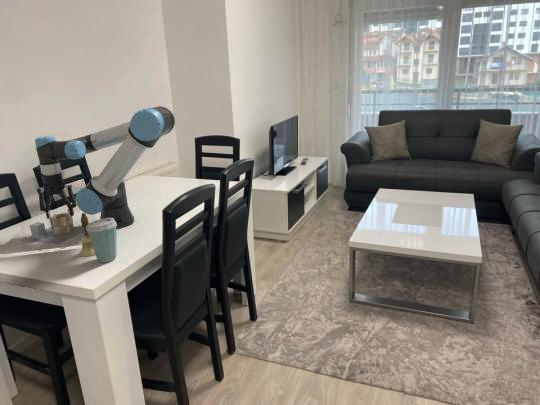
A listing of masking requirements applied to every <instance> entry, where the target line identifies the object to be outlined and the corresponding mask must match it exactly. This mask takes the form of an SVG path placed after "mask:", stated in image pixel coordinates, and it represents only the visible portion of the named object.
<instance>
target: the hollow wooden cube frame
mask: <svg viewBox="0 0 540 405" xmlns="http://www.w3.org/2000/svg"><path fill="white" fill-rule="evenodd" d="M49 223H51V224H50V227H51V228H52V232H53V234H61V233H69V232H71V230H72V229H73V228H74V227H75V226H74V222H73V223H72V224H70V222H69V217H68V212H61V213H53V216H52V217H51V218H50V219H49Z"/></svg>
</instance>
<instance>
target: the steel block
mask: <svg viewBox="0 0 540 405" xmlns="http://www.w3.org/2000/svg"><path fill="white" fill-rule="evenodd" d="M29 228H30V232H31V236H32V238H33V240H39V241H40V240H42V239H44V238H47V234H46V229H47V228H46V225H45V222H34V223H32V224H30V225H29Z"/></svg>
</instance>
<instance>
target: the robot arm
mask: <svg viewBox="0 0 540 405" xmlns="http://www.w3.org/2000/svg"><path fill="white" fill-rule="evenodd" d="M175 125H176V118H175V115H174V113H173V112H172V111H171V110H170V109H169V108H167V107H165V106H161V105H160V106H159V105H158V106H155V107H147V108H142V109H140V110H138V111H137V112H135V113H134V114H133V115H132V117H131V119H130V121H126V122H123V123H121V124H117V125H115V126H112V127H111V126H110V127H109V128H106V129H102V130H99V131H96V132H92V133H90V134H86V135H83V136H79V137H77V138H73V139H69V140H56V139H55V136H52V135H47V136H39V137H36V138H35V139H34V144H35V151H36V153H37V157H38V161H39V168H40V173H41V175H42V181H43V186H42V187H38V188H37V189H36V192H37V194H38V202H39V211H40V212H44V213H45V215H46V216H45V217H46V219H47V220H50V218H51V217H52V216H53V215H54V213H53V210H52V209H50V208H51V204H52V199H53V198H52V197H53V196H57V195H58V196H59V197H61V199H62V200H63V202H64V203H65V205H66V207H67V210H66V211H67V212H66V213H68V217H69V222H70V224H72V223H73V224H74V219H73V217H74V215H75V213H74V211H75V210H74V208H76V207H78V209H79V210H80V211H82V213H85V214H86V215H89V216H90V215H91V216H94V215H97V214H99V213H100V217H99V219H104V218H113V219H114V221H115V222H116V224H117V226H116V230H117V229H122V228H126V227H129V226H131V225H132V223H133V222H134V223H135V216H134V215H133V213H132V211H131V209H130V207H129V204H128V203H129V202H128V197H127V191H126V190H127V189H126V182H125V177H126V176H127V175H128V174H129V172H130V171H131V170H132V169H133V167H134V166H135V164H136V163H137V162H138V161H139V160H140V158H141V156H143V154H144V153H145V151H147V149H151V148H153V147H154V146H155V145H156V144H157V142H158V141H159V140H160V139H161V138H162V137H163V136H165V135H168V134H169V133H171V132H172V131H173V130H174V127H175ZM120 144H121V145H120ZM116 145H120V146H119V147H118V149H117V150H116V151H115V153H114V154H113V155H112V157H111V158H110V159H109V161H108V162H107V163H106V165H105V167H104V168H103V169H102V171H101V172H100V173H99V175H94V176H92V178H91V179H90V180H89V182H88V183H86V185H85V187H83V188H80V189H79V190H78V191H77V192H76V194H74V191H73V185H72V184H65V182H64V179H63V173H62V172H61V171H62V169H61V163H60V160H78V159H82V158H84V156H85V155H87V154H90V153H91V154H92V153H94V152H97V151H99V150H104V149H106V148H110V147H113V146H116ZM64 190H66V191H67V194H68V196H69V198H68V197H67V195H66V193H65V191H64ZM44 192H46V193H47V198H46V203H45V196H44ZM69 199H70V200H69ZM49 223H50V222H49ZM134 223H133V224H134ZM50 225H51V223H50Z"/></svg>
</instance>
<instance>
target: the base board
mask: <svg viewBox="0 0 540 405" xmlns="http://www.w3.org/2000/svg"><path fill="white" fill-rule="evenodd" d="M45 229H46V234H47V238H44V239H42V240H40V241H39V240H33V238H32V235H30V236H27V237H26V238H23V239H21V240H20V242H22V241H23V242H31V243H43V244H44V243H45V244H55V245H59V244H61V243H64V242H66V241H68V240H70V239H71V238H74V237H75V236H77V235H79V234H81V233H83V232H84V228H83V226H74V228H73V229H72V230H71V232H69V233H61V234H53V232H52V228H51V226H50V227H48V228H45Z"/></svg>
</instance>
